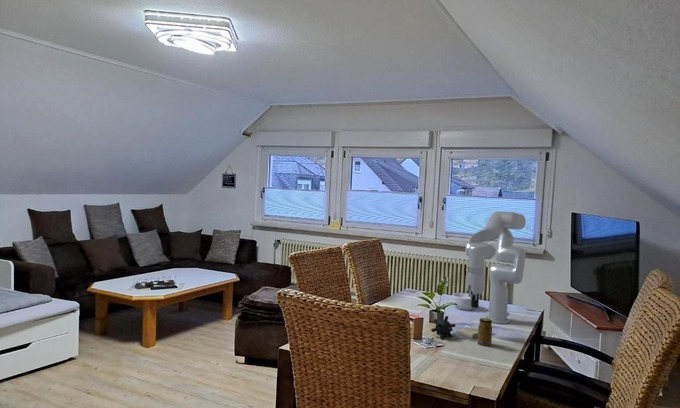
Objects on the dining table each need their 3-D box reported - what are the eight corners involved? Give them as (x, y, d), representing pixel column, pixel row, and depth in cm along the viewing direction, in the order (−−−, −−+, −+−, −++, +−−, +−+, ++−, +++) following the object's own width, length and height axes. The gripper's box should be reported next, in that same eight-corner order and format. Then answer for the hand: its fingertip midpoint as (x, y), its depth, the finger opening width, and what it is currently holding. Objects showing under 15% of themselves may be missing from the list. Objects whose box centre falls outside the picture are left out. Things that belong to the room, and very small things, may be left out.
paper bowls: (473, 313, 270) (474, 299, 270) (448, 308, 278) (448, 295, 278) (479, 308, 283) (480, 295, 283) (455, 304, 291) (456, 291, 291)
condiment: (484, 342, 216) (486, 316, 216) (498, 348, 209) (499, 321, 208) (472, 343, 213) (474, 318, 213) (486, 349, 206) (487, 323, 205)
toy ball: (427, 325, 228) (451, 320, 229) (434, 345, 221) (458, 339, 222) (428, 315, 221) (452, 309, 221) (435, 335, 213) (460, 329, 214)
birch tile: (469, 326, 232) (457, 330, 225) (483, 330, 226) (472, 334, 219) (468, 331, 232) (457, 334, 225) (483, 335, 226) (472, 338, 219)
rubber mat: (471, 328, 239) (471, 327, 239) (496, 335, 228) (496, 334, 228) (448, 334, 225) (448, 334, 225) (474, 342, 215) (474, 341, 215)
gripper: (477, 267, 234) (476, 303, 235) (461, 271, 224) (459, 308, 225) (491, 270, 228) (489, 306, 229) (474, 273, 218) (473, 311, 219)
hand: (474, 307), depth 227 cm, fingers closed
